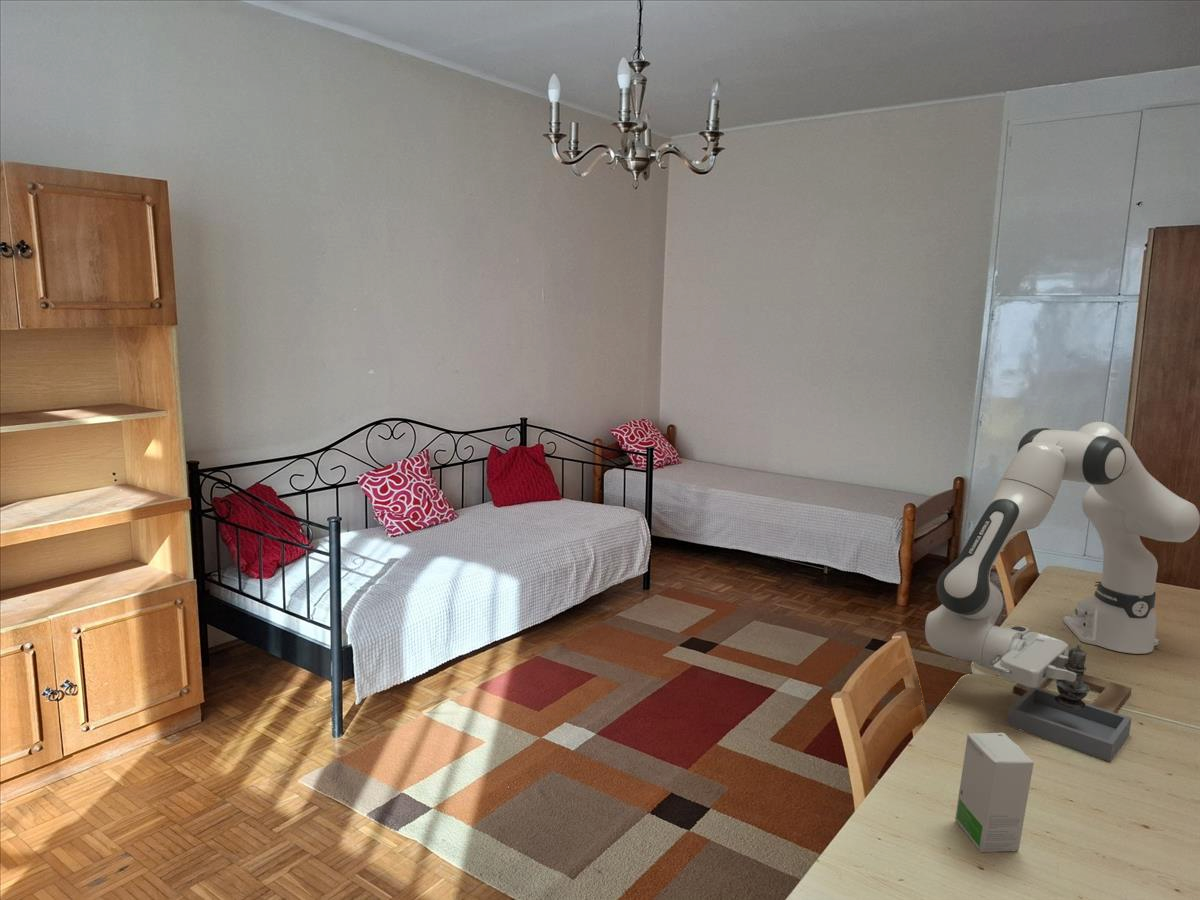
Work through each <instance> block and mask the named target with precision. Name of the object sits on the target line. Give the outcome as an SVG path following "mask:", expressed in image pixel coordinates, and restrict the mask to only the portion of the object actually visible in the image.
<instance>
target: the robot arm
mask: <svg viewBox="0 0 1200 900" xmlns="http://www.w3.org/2000/svg"><path fill="white" fill-rule="evenodd" d="M1062 481H1068V482H1069V481H1070V482H1074V483H1075V482H1077V483H1088V484H1090V485H1091V486H1090V487H1088V489H1086V491H1085V493H1084V494H1083V496H1082V501H1081V509H1082V512H1083V514H1084V517H1086V518H1087V520H1089V522H1090V523H1091V524H1092V525H1093V527H1094V528H1095V530H1096V533H1097V534H1098V537H1099V539H1100V542H1101V545H1102V553H1103V554H1102V555H1103V558H1102V559H1103V560H1102V561H1103V562H1102V571H1101V572H1102V573H1101V579H1100V580H1101V581H1094V583H1095V584H1094V585H1093V586H1094V587H1096V589H1095V591H1094V594H1092V595H1090V596H1088V597H1086V598H1083V599H1081V600H1079V601H1078V602H1077V603H1076V604H1075V609H1074V612H1073V613H1074V614H1070V615H1066V616H1063V618H1062V622H1063V623H1064V624H1065V625H1066V626H1067V627H1068V629H1069V630H1070V631H1071V632H1073V635H1075V636H1076V637H1077V638H1078V640H1079V641H1080V642H1082V643H1085V644H1089V645H1093V646H1098V647H1100V648H1101V647H1102V648H1104V649H1107V650H1110V651H1115V652H1119V653H1124V654H1125V653H1127V654H1134V655H1135V654H1136V655H1140V654H1143V655H1144V654H1149V653H1151V652H1153V651H1154V649H1155V647H1156V646H1159V639H1158V638H1156V624H1157V613H1156V611H1155V610H1154V608H1155V604H1156V601H1157V599H1156V597H1157V595H1156V592H1155V589H1156V582H1157V575H1158V568H1159V565H1158V561H1157V558H1156V557H1155V555H1154V554H1153V553H1152V552H1151V551H1149V550H1148V549H1147V548H1146V547H1145V545H1144V544H1143V542H1142V540H1141V538H1140V537H1144V538H1148V539H1152V540H1155V541H1160V542H1167V543H1168V542H1169V543H1184V542H1187V541H1188V540H1190V539H1191V538H1192V537H1193V536H1194V535H1196V533H1197V531H1198V529H1199V527H1200V511H1199V510H1198V508H1197V506H1196V505H1195V504H1194V503H1192V502H1190V501H1188V500H1186V499H1184V498H1183V497H1180V496H1178V495H1177V494H1176V493H1174V492H1173V491H1172V490H1170V489H1169V488H1167V487H1166V486H1164V485H1163V484H1162V483H1160V481H1159V480H1157V479H1156V478H1155V477H1154V476H1152V474H1150V473H1149V472H1148V470H1147V469H1146V468H1145V466H1144V465H1143V463H1142V461H1141V460H1140V459H1139V457H1138V455H1137V453H1136V452H1135V450H1134V448H1133V447H1132V445H1131V444H1130V442H1129V441H1128V439H1127V438H1126V437H1125V436H1124V435H1123V434H1122V433H1121V431H1119V429H1117V428H1116V427H1115V426H1114V425H1113V424H1111V423H1108V422H1106V421H1105V422H1104V421H1093V422H1089V423H1087V424H1085V425H1083V426H1082V427H1080V428H1079V429H1078V430H1066V429H1065V430H1063V429H1050V428H1047V427H1045V428H1043V427H1040V428H1032V429H1031V430H1029V431H1028V432H1027V433H1025V434H1024V435H1023V436H1022V437H1021V439H1020V441H1019V443H1018V446H1017V452H1016V454H1015V456H1014V457H1013V458H1012V460H1011V461H1010V462H1009V465H1008V466H1007V468H1006V470H1005V471H1004V473H1003V476H1002V477H1001V479H1000V481H999V483H998V486H997V488H996V491H995V492H994V494H993V496H992V499H991V501H990V503H989V505H987V508H986V509H985V511H984V513H983V514H982V516H981V517H980V519H979V521H978V522H977V524H976V525H975V527H974V529H973V531H972V533H971V535H970V536H969V538H968V540H967V542H966V544H965V545H964V547H963V549H962V550H961V553H960V554H959V555H958V557H956V559H955V560H954V561H953V562H951V563H950V564H949V565H948V566H947V567H946V568H945V569H944V570H943V571H942V572H941V574H939V576H938V579H937V583H936V595H937V598H938V599H939V602H940V603H941V605H939V606H938V607H937V608H936V609H934V610H932V611H930V612H928V614H927V616H926V618H925V621H924V635H925V636H924V637H925V639H926V642H927V643H928V644H929V646H930V647H931V648H933V649H934V650H935V651H938V652H940V653H942V654H944V655H947V656H949V657H953V658H956V659H958V660H961V661H967V662H972V663H976V664H978V665H980V666H981V667H983V668H986V669H990V670H992V671H994V672H998V674H999V675H1000V676H1001V677H1002V678H1004V679H1007V680H1009V681H1011V682H1013V683H1016V684H1017V683H1018V684H1021V685H1024V686H1026V687H1031V688H1037V687H1038V686H1039V685H1040V684H1041V683H1042V682H1043V681H1044V680H1045V679H1046V678H1047V677H1048V678H1051V679H1053V680H1057V679H1060V680H1067V681H1071V682H1074V681H1075V680H1076V679H1077V675H1078V673H1077V672H1076V671H1073V670H1070V669H1067V670H1065V669H1059V668H1058V667H1061V668H1066V667H1065V664H1066V663H1067V662H1068V655H1069V647H1070V646H1069V643H1067V642H1065V641H1064V640H1062V639H1059V638H1056V637H1053V636H1050V635H1047V634H1044V633H1040V632H1036V631H1030V629H1029V628H1028V627H1026V626H1022V625H1017V626H1011V627H1007V626H1006V627H1000V626H997V625H996V623H997V622H998V619H999V618H1000V616H1001V613H1002V611H1003V608H1004V598H1003V597H1004V596H1003V594H1002V592H1001V590H1000V589H999V588H998V587H997V586H996V585H995V583H993V582H992V580H991V579H990V577H991V576H990V573H991V571H992V568H993V567H994V564H995V562H996V561H997V559H998V558H999V556H1000V553H1001V552H1002V550H1003V548H1004V547H1005V544H1006V542H1007V541H1008V539H1009V538H1011V536H1012V535H1014V534H1016V533H1018V532H1026V531H1030V530H1034V529H1036V528H1037V527H1039V526H1040V525H1041V523H1042V522H1044V520H1045V518H1046V517H1047V516H1048V514H1049V512H1050V511H1051V508H1052V506H1053V504H1054V502H1055V499H1056V497H1057V495H1058V492H1059V490H1060V487H1061V484H1062ZM1084 667H1085V668H1086V666H1085V665H1084Z"/></svg>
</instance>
